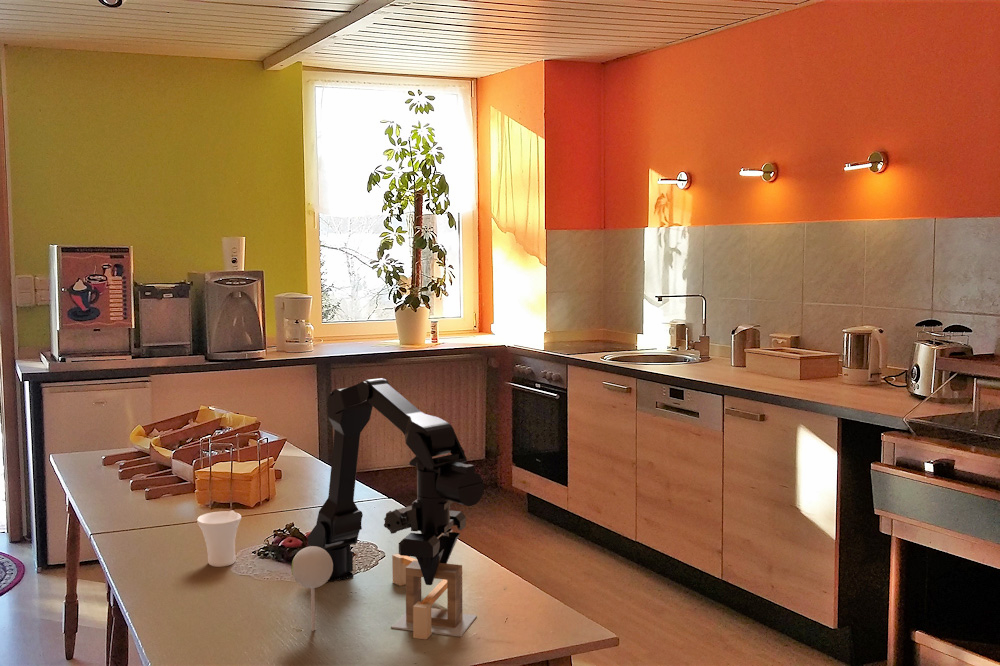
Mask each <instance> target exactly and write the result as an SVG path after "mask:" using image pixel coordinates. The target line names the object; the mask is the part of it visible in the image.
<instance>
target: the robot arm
mask: <svg viewBox="0 0 1000 666" xmlns="http://www.w3.org/2000/svg"><path fill="white" fill-rule="evenodd" d="M326 404H327V405H326V406H327V419H328V420H329V422H330V423H331V426H332V428H333V429H334V436H333V443H332V456H331V466H330V477H329V478H330V479H329V485H328V486H329V488H328V497H327V499H326V501H325V502H324V503H323V505H322V506H321V508H320V509H319V511H318V514H317V519H316V523H315V526H314V527H313V529H312V530H311V531H310V532H309V534H308V536H307V537H306V538H307V539H306V540H307V545H308V547H309V546H317V547H320V548H322V549H324V550H326V551H327V552H328V554H329V555H330V557H331V559H332V562H333V571H332V574H331V576H330V578H329V580H328V581H327V582H326V583H328V582H335V581H339V580H344V579H351V578H354V573H353V571H354V559H353V551H352V550H351V545H356V544H357V543H358V538H359V534H360V531H361V530H362V518H363V512H362V511H361V510H359V508H358V507H357V504H356V503H355V498H354V497H355V489H356V479H357V470H358V469H357V468H358V461H359V449H360V442H361V441H360V440H361V433H362V431H363V430H364V429H365V427H366V425H368V423H369V422H370V419H371V417H372V411H373V409H375V410H377V411H378V412H379V413H380V414H381V415H382V416H384V417H385V418H386V419H387V420H388V421H389V422H390V423H391V424H392V425H394V426H395V427H396V428H397V429H399V431H401V432H402V433H403V435H404V441H405V444H406V445H407V447H408V448H409V450H410V451H411V452H412V453H413V454H414V457H413V458H412V459H411V460H410V461H409V466H412V467H415V468H416V495H417V496H416V498H417V499H415V500H414V501H413V502H412V503H411V505H408V506H406V507H405V506H404V507H402V508H398V509H397V508H396V509H394V510H389V511H388V512H386V514H385V517H384V518H383V520H384V524H383V526H384V528H385V529H387V530H388V531H389V532H390V534H391V535H393V534H396V533H398V532H400V531H403V530H407V529H410V531H411V532H410V533H408V535H406V536H404V538H403V539H402V540H400V542H398V553H399V554H400V555H403V556H410V557H412V558H413V557H414V558H416V560H418V563H419V565H420V568H421V571H422V574H423V577H422V578H423V580H424V584H425V585H426V586H432V585H433V584H434V580H435V575H436V572H437V569H438V566H439V563H446V564H448V562H449V559H450V556H451V555H452V552H453V550H454V548H455V546H456V544H457V541H458V539H459V537H461V536H460V532H457V531H456V532H454V531H453V528H452V527H454V526H456V529H457V530H458V531H463V530H464V529H465V528H466V527H467V516H466V515H465V514H464V513H463V512H462V511H460V510H459V511H458V510H450V509H451V505H452V504H454V503H457V504H459V505H464V506H467V507H472V506H475V505H477V504H478V503H479V501H481V499H482V498H483V495H484V492H485V482H484V481H483V477H482V476H481V475H480V474H479V473H477V472H476V466H475V465H474V464H466V463H467V461H468V459H467V457H466V454H465V450H464V449H463V447H462V446H461V443H460V441H459V438H458V437H457V434H456V432H455V429H454V428H453V426H452V424H450V422H448V421H447V420H444V419H442V418H441V417H438V416H435V415H431V414H426V413H425V412H423V411H422V410H420V409H418V408H417V406H415V405H414V404H412V402H410V401H409V400H408V399H406V397H404V396H403V395H402V394H401V393H400V392H398V391H397V390H396V389H394V387H392V386H391V384H390V383H389V381H388V380H387V379H385V378H383V377H381V378H380V377H379V378H371V379H365V380H362V381H361V382H358V383H357V384H355V385H352V386H349V387H343V388H336V389H333V390H332V391H331V392H330V393H329V394H328V397H327V403H326ZM416 532H417V533H416ZM419 532H420V533H419Z"/></svg>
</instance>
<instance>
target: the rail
mask: <svg viewBox="0 0 1000 666" xmlns="http://www.w3.org/2000/svg"><path fill="white" fill-rule="evenodd" d="M391 558H392V583H393V584H395V585H397V586H400V587H401V586H404V585H406V567H407V566H408V565H409V564H410V563H411V562H412V561H414V560H416V561H418V560H417V558H416V559H415V558H413V557H412V556H403V555H400V554H399V552H398V553H396V554H395V553H394V554H392V557H391ZM445 591H447V580H444V579H441V581H440V582H439V583H438V584H437V585H436V586H435V587H434V588H433V589H432V590H431V591H430V592H429V593H428V595H426V597H424V598H423V599H422V600H421V602H420V601H418V602H417V603H416V604H415V605H414V606H413V631H412V633H413V634H412V635H413V639H418V640H420V639H421V640H428V639H429V638H430V636H431V635H432V633H431V608H432V606H433V604H435V602H436V601H437V600H438V599H439V598H440V596H442V595H443V594H444V592H445Z"/></svg>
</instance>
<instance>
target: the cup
mask: <svg viewBox="0 0 1000 666" xmlns="http://www.w3.org/2000/svg"><path fill="white" fill-rule="evenodd" d="M241 520H242V515H241V514H240V513H238V512H235V511H234V510H233V509H231V510H229V511H227V510H226V511H225V510H223V511H222V510H221V511H213V512H207V513H204V514H200V516H198V517H197V521H196V522H197V525H198V526H199V528H200V530H201V532H202V535H203V539H204V540H205V545H206V551H207V562H208V564H209V565H210V566H211V567H218V568H219V567H220V568H221V567H227V566H231V565H233V564H234V563H235V562H236V536H237V534H238V533H237V532H238V528H239V524H240V522H241Z"/></svg>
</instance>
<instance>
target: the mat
mask: <svg viewBox="0 0 1000 666" xmlns="http://www.w3.org/2000/svg"><path fill="white" fill-rule="evenodd" d="M476 619H477V614H468V613H462V620H461V622H460V623H459V624H458V625H457V627H456V628H451V627H443V626H434V625H431V634H435V635H444V636H451V637H460V638H461V637H463V635H464V634H465V633H466V631H467V630H468V628H469V627H470V626H471V625H472V624H473V622H474V621H475V620H476ZM390 629H395V630H403V631H412V632H413V623H410V622H406V611H405V612H404V613H402V615H400V617H399V618H398V619H397V620H396V621H395V622H394V623H393V624H392V625H391V626H390Z"/></svg>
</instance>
